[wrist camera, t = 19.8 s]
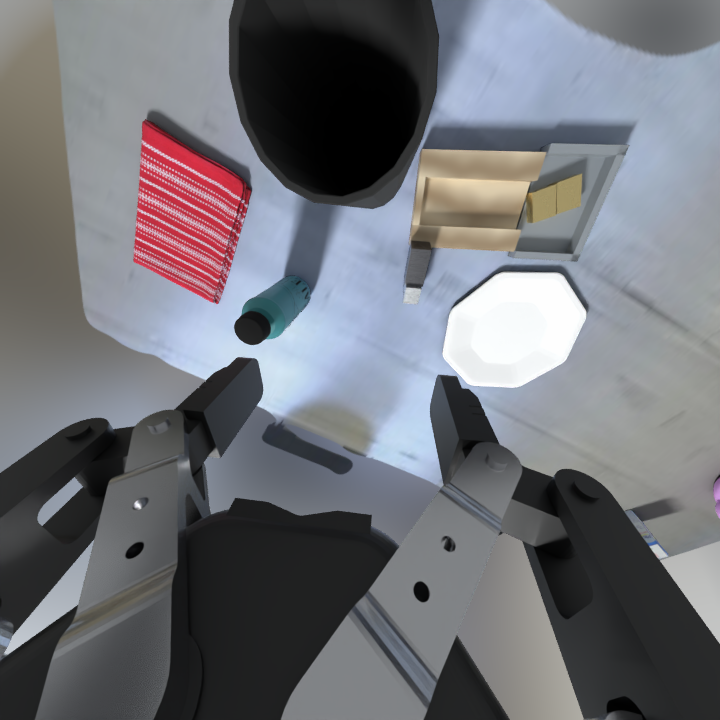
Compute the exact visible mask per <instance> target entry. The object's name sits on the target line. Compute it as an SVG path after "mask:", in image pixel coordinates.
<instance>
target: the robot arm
mask: <svg viewBox="0 0 720 720" xmlns="http://www.w3.org/2000/svg"><path fill="white" fill-rule="evenodd" d="M262 394H263V384H262V379H261V374H260V369H259V364H258V361H257V360H256V359H254V358H243V357H238V358H236V359H235V360H234V361H233V362H232V363H231V364H230V365H229V366H228V367H224V368H223V369H221V370H219V371H217V372H215V373H214V374H212V375H211V376H210V377H209V378H208V379H207V380H206V382H204V383H203V384H202V385H201V386H200V387H199V388H197V389H196V390H195V391H194V392H193V393H192V394H191V395H190V396H189V397H188V398H186V399H185V400H184V401H183V402H182V403H181V404H180V405H179V406H178V407H177V408H176V409H174V410H163V411H159V412H156V413H154V414H151V415H149V416H147V417H145V418H144V419H142V420H141V421H140V422H139V423H138V424H137V425H136V426H134V427H126V428H119V429H113V428H112V427H111V425H110V424H109V422H108V421H107V420H106V419H104V418H91V419H86V420H83V421H80V422H77V423H74V424H72V425H70V426H68V427H66V428H65V429H62V430H61V431H59V432H58V433H56V434H55V435H53V436H52V437H51V438H49V439H48V440H47V441H45V442H43V443H42V444H41V445H39V446H38V447H37V448H35V449H34V450H32V451H31V452H29V453H28V454H27V455H25V456H24V457H22V458H21V459H19V460H18V461H17V462H15V463H14V464H12V465H11V466H10V467H9V468H7V469H5V470H4V471H3V472H1V473H0V720H510V719H509V718H508V716H507V714H506V713H505V711H504V709H503V708H502V706H501V705H500V703H499V701H498V700H497V698H496V697H495V695H494V693H493V692H492V690H491V689H490V687H489V685H488V684H487V682H486V681H485V679H484V677H483V676H482V674H481V673H480V671H479V669H478V668H477V666H476V665H475V663H474V661H473V660H472V658H471V657H470V655H469V653H468V652H467V650H466V649H465V647H464V645H463V644H462V642H461V641H460V639H459V637H458V636H457V633H458V630H459V628H460V626H461V623H462V621H463V618H464V616H465V614H466V611H467V609H468V606H469V604H470V602H471V599H472V597H473V594H474V592H475V589H476V587H477V585H478V582H479V580H480V578H481V575H482V573H483V570H484V568H485V566H486V563H487V561H488V558H489V556H490V554H491V551H492V549H493V546H494V544H495V542H496V539H497V537H498V534H499V532H500V531H501V532H504V533H506V534H508V535H510V536H512V537H515V538H517V539H520V540H521V541H522V542H523V544H524V547H525V550H526V553H527V556H528V559H529V562H530V565H531V567H532V570H533V573H534V576H535V579H536V582H537V585H538V588H539V591H540V593H541V596H542V599H543V602H544V605H545V607H546V611H547V613H548V617H549V619H550V622H551V625H552V628H553V631H554V634H555V637H556V640H557V642H558V645H559V648H560V651H561V654H562V657H563V660H564V662H565V665H566V668H567V671H568V674H569V677H570V680H571V683H572V686H573V689H574V691H575V694H576V697H577V700H578V703H579V706H580V709H581V712H582V715H583V717H584V720H720V644H719V642H718V641H717V640H716V638H715V637H714V636H713V634H712V633H711V631H710V630H709V628H708V627H707V626H706V624H705V623H704V622H703V620H702V619H701V617H700V616H699V615H698V613H697V612H696V610H695V609H694V608H693V606H692V605H691V604H690V602H689V601H688V599H687V598H686V597H685V595H684V594H683V592H682V591H681V590H680V588H679V587H678V585H677V584H676V583H675V581H674V580H673V579H672V577H671V576H670V574H669V573H668V572H667V570H666V569H665V567H664V566H663V565H662V563H661V562H660V560H659V559H658V558H657V556H656V555H655V554H654V552H653V551H652V549H651V548H650V547H649V545H648V544H647V542H646V541H645V540H644V538H643V537H642V536H641V534H640V533H639V531H638V530H637V529H636V527H635V526H634V524H633V523H632V522H631V520H630V519H629V517H628V516H627V515H626V513H625V512H624V511H623V509H622V508H621V506H620V505H619V504H618V502H617V501H616V499H615V498H614V497H613V495H612V494H611V493H610V492H609V491H608V490H607V489H606V488H605V487H604V486H603V485H602V484H601V483H599V482H598V481H597V480H595V479H594V478H592V477H590V476H588V475H586V474H584V473H582V472H579V471H576V470H572V469H562V470H559V471H557V473H556V474H555V475H554V477H551V476H548V475H545V474H542V473H540V472H537V471H534V470H531V469H528V468H526V467H524V466H522V465H521V463H520V461H519V459H518V458H517V457H516V456H515V455H514V454H513V453H512V452H511V451H510V450H508V449H507V448H505V447H504V446H501V445H500V444H499V442H498V440H497V438H496V436H495V433H494V431H493V429H492V427H491V425H490V423H489V421H488V419H487V416H485V412H484V410H483V408H482V406H481V404H480V402H479V399H478V397H477V396H476V395H475V394H473V393H472V392H471V391H470V390H469V389H463V388H461V385H460V383H459V380H458V378H457V376H448V375H438V376H437V378H436V382H435V386H434V391H433V395H432V399H431V404H430V418H431V423H432V428H433V433H434V438H435V443H436V448H437V453H438V458H439V463H440V469H441V474H442V479H443V484H444V485H443V486H442V487H441V489H440V490H439V491H438V493H437V494H436V496H435V497H434V498H433V500H432V501H431V503H430V504H429V506H428V507H427V509H426V510H425V511H424V513H423V514H422V516H421V517H420V518H419V520H418V521H417V523H416V524H415V525H414V527H413V528H412V530H411V531H410V532H409V534H408V535H407V537H406V538H405V540H404V541H403V542H402V544H401V545H400V546H399V545H398V544H397V543H396V542H395V541H394V540H392V539H391V538H390V537H389V536H388V535H386V534H385V533H383V532H382V531H380V530H378V529H376V528H374V527H372V526H371V517H372V515H367V514H358V513H351V512H343V511H332V512H325V513H318V514H311V515H304V516H299V515H295V514H293V513H291V512H289V511H287V510H284V509H282V508H280V507H277V506H276V505H273V504H271V503H269V502H263V501H255V500H247V499H240V498H235V500H234V501H233V503H232V505H231V507H230V509H229V510H224V511H221V512H217V513H214V514H211V512H210V506H209V497H208V487H207V478H206V468H205V464H204V461H205V460H206V459H207V457H216V458H221V457H222V455H223V454H224V452H225V451H226V449H227V448H228V446H229V445H230V444H231V442H232V440H233V439H234V438H235V436H236V435H237V433H238V432H239V430H240V429H241V427H242V426H243V425H244V423H245V422H246V420H247V419H248V417H249V416H250V414H251V413H252V411H253V410H254V409H255V407H256V406H257V404H258V403H259V401H260V400H261V398H262ZM74 477H75V478H76V479H77V480H78V481H79V483H80V484H81V485H82V486H83V488H82V489H80V490H79V491H78V492H77V493H76V494H75V495H74V496H73V497H72V498H71V499H70V500H69V501H68V502H67V503H66V504H65V505H64V506H63V507H62V508H61V509H60V510H59V511H58V512H56V513H55V514H54V515H53V516H52V517H51V518H50V519H49V520H48V521H47V522H46V523H45V524H44V525H43V526H41V525H40V524H39V523H38V521H37V516H38V513H39V511H40V509H41V508H42V506H43V505H44V504H45V503H46V502H47V501H48V500H49V499H50V498H51V497H53V496H54V495H55V494H56V493H57V492H58V491H59V490H60V489H61V488H63V487H64V486H65V485H66V484H67V483H68V482H69V481H70V480H72V478H74ZM93 540H94V544H93V548H92V552H91V556H90V560H89V564H88V568H87V572H86V576H85V580H84V584H83V588H82V592H81V596H80V600H79V604H78V605H77V606H76V607H74V608H73V609H72V610H70V611H69V612H67V613H66V614H65V615H63V616H62V617H60V618H59V619H58V620H56V621H55V622H53V623H52V624H51V625H49V626H48V627H46V628H45V629H44V630H42V631H41V632H39V633H38V634H36V635H35V636H34V637H32V638H31V639H30V640H28V641H27V642H25V643H24V644H22V645H21V646H20V647H18V648H17V649H15V650H14V651H13V652H11V653H10V654H8V655H7V654H5V653H4V652H5V650H6V649H7V647H8V645H9V643H10V640H11V638H12V636H13V634H14V633H15V632H16V631H17V630H18V629H19V627H20V626H21V625H22V624H23V623H24V621H25V620H26V619H27V618H28V617H29V616H30V614H31V613H32V612H33V611H34V610H35V608H36V607H37V606H38V605H39V604H40V602H41V601H42V600H43V599H44V598H45V596H46V595H47V594H48V593H49V592H50V591H51V589H52V588H53V587H54V586H55V585H56V584H57V582H58V581H59V580H60V579H61V577H62V576H63V575H64V574H65V573H66V571H67V570H68V569H69V568H70V567H71V566H72V565H73V563H74V562H75V561H76V560H77V559H78V557H79V556H80V555H81V554H82V553H83V552H84V550H85V549H86V548H87V547H88V546H89V545H90V543H91V542H92V541H93Z"/></svg>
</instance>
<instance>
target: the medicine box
mask: <svg viewBox="0 0 720 720" xmlns="http://www.w3.org/2000/svg"><path fill="white" fill-rule="evenodd" d="M624 512H625V513H626V515H627V516H628V517H629V519H630V520H631V522H632V523H633V524H634V526H635V527H636V529H637V530H638V531H639V533H640V534H641V536H642V537H643V538H644V540H645V541H646V542H647V544H648V545H649V547H650V548H651V549H652V551H653V552H654V554H655V555H656V556H657V558H658V559H659V558H664V557H668V556H669V555H668V554H667V552H666V551H665V550H664V549H663V547H662V546H661V545H660V544H659V542H658V541H657V540H656V538H655V537H654V536H653V535H652V533H651V532H650V531H649V530H648V528H647V527H646V526H645V525H644V523H643V522H642V521H641V520H640V519H639V518H638V517H637V516H636V515H635V513H634V512H633V511H632V510H628V511H624Z"/></svg>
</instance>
